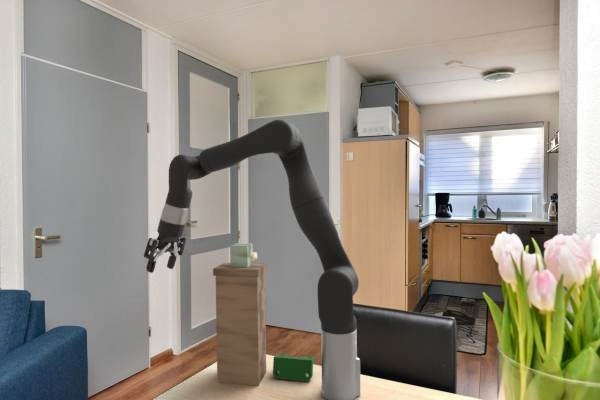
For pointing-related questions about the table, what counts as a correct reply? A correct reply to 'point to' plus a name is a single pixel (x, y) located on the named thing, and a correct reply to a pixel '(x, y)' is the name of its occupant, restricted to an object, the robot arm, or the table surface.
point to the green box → (293, 367)
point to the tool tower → (240, 323)
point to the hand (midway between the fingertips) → (160, 269)
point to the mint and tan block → (242, 255)
